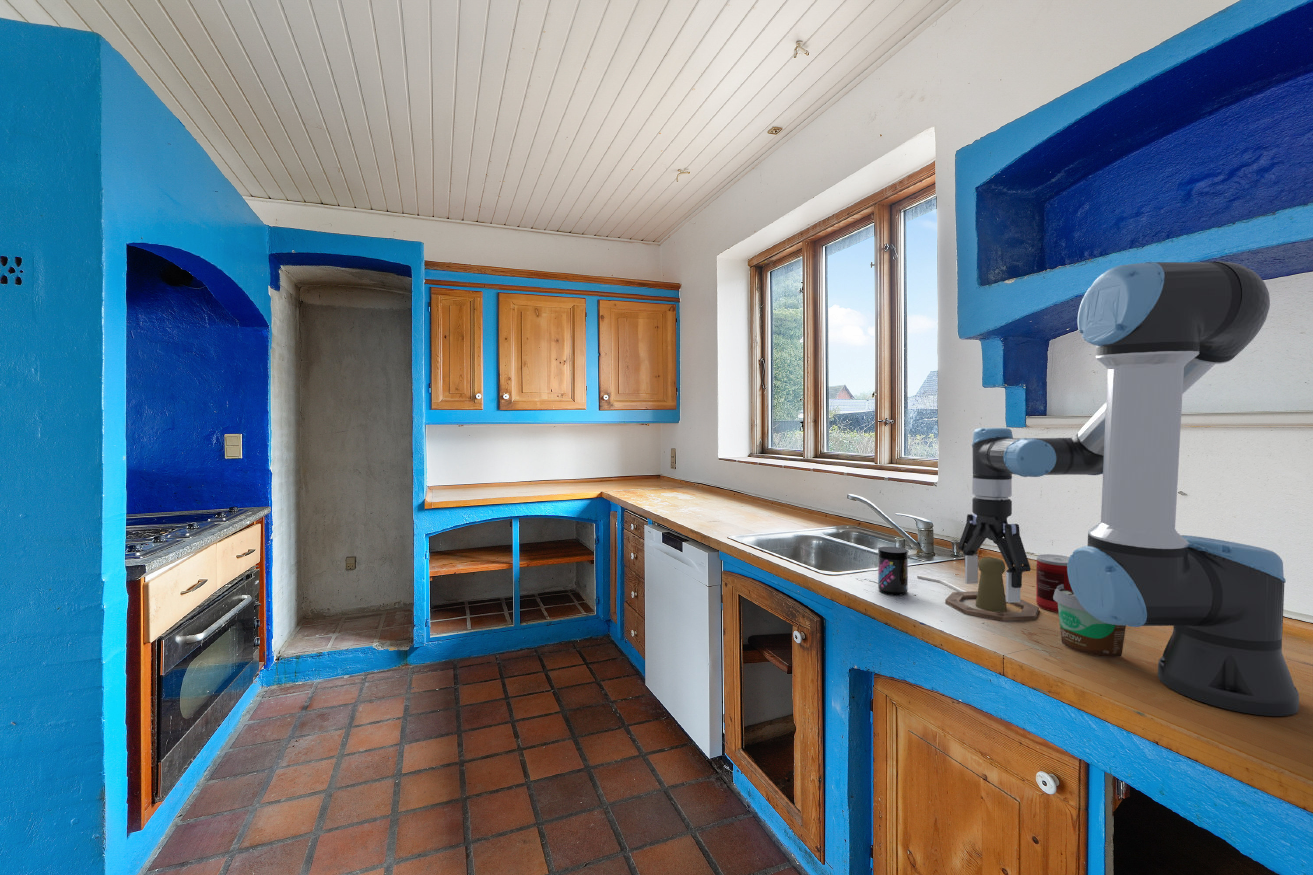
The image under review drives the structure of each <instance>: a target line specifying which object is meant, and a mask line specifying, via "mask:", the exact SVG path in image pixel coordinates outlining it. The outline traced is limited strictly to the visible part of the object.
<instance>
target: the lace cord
mask: <svg viewBox="0 0 1313 875" xmlns="http://www.w3.org/2000/svg"><path fill="white" fill-rule="evenodd" d="M916 578H917V579H922V580H926V581H931V582H934V583H935V582H936V583H940V584H942V585H944V586H946V587H948V588H950V589H952V590H954V591H955V592H967V591H966V590H964V589H963V588H960V587H958V586H956V585H953V584H951V583H950V582H948V581H945V580H944V579H941V578H940V579H939V578H935V577H930V576H925V575H921V574H920V575H919V574H918V575H916Z"/></svg>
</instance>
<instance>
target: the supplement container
mask: <svg viewBox="0 0 1313 875" xmlns="http://www.w3.org/2000/svg"><path fill="white" fill-rule="evenodd" d="M877 558H878V559H877V561H878V562H877V563H878V564H877V566H878V567H877V573H878V574H877V576H878V577H877V583H878V584H877V588H878V590H879V592H880V593H882V594H885V595H889V596H904V595H906V594H907V593H908V590H909V588H908V583H909V582H908V581H909V578H908V577H909V576H908V575H909V571H908V570H909V569H908V567H909V563H908V562H909V561H908V560H909V550H908V549H906V548H904V547H898V546H890V545H889V546H887V545H885V546H879V547H878V548H877Z"/></svg>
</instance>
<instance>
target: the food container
mask: <svg viewBox="0 0 1313 875" xmlns="http://www.w3.org/2000/svg"><path fill="white" fill-rule="evenodd" d="M1053 599H1054V600H1055V601H1056V602H1058V611H1059V612H1058V618H1059V619H1058V620H1059V630H1060V639H1061V641H1060V642H1061V643H1062V645H1064V646H1065V647H1067V648H1068V649H1070V650H1073V651H1076V652H1079V653H1082V654H1087V655H1089V656H1090V655H1091V656H1095V657H1101V658H1102V657H1103V658H1121V657H1123V649H1124V643H1125V636H1126V635H1125V634H1126V628H1127V626H1126V625H1111V624H1107V623H1104V622H1101V621H1099V620H1098V619H1096V618H1094V617H1093V616H1092V615H1090V614H1089V613H1088V612H1087V611H1086V610H1085V609H1084V608H1083V607H1082V605H1081V604H1080V603H1079V601H1078V599H1077V598H1076V597H1075V595H1074V593H1073V592H1072V591H1068V590H1065V589H1064V585H1063V584H1062V585H1059V586H1057V589H1056V590H1055V592H1054V596H1053Z"/></svg>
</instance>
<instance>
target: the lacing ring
mask: <svg viewBox="0 0 1313 875" xmlns="http://www.w3.org/2000/svg"><path fill="white" fill-rule="evenodd" d="M977 593H978V590H975V591H972V590H971V591H966V592H958V591H953V592H951V594H950V595H948V597H946V599H945V605H948V606H950V607H952V608H954V609H956V610H957V611H959V612H961V613H962V614H964V615H967V616H968V615H969V616H974V617H980V618H983V619H989V620H996V621H1000V622H1014V621H1015V622H1016V621H1034V620H1035V619H1036V618H1037V616H1038V614H1039V612H1040V607H1039V606H1038V605H1035V604H1032V603H1031V602H1028V601H1026V600H1024V599H1022V598H1020V602H1013V603H1010V604H1011V605H1014V606H1016V607H1018V608H1020V609H1022V610H1021V611H1016V612H1014V611H1013V612H1012V611H1011V612H994V611H988V610H984V609H980V608H974V607H972V606H970V605H968V604H966V603H964V602H962V601H963V600H964V599H967V600H968V599H969V600H970V599H977ZM1005 599H1006V594H1005ZM1035 621H1036V620H1035Z"/></svg>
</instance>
